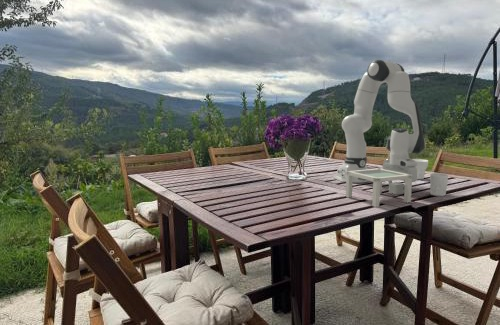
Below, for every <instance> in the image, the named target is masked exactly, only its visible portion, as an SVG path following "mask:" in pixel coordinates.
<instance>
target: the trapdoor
mask: <svg viewBox="0 0 500 325" xmlns="http://www.w3.org/2000/svg"><path fill="white" fill-rule="evenodd" d="M361 174H365V175H369V176H373V177H387V176H397V175H396V174H391V173H386V172H379V171H375V172H364V173H361ZM358 179H359V180H363V181H365V180H366V179H362V178H358Z"/></svg>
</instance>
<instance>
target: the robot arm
mask: <svg viewBox="0 0 500 325" xmlns="http://www.w3.org/2000/svg"><path fill="white" fill-rule="evenodd" d="M382 84H385V85H386V86H387V104H388V105H389V107H390V108H392V109H393V110H395V111H397V112H400V113H403V114H405V115H407V116H409V118H410V119H411V120H410V121H411V126H412V130H413V133H409V129H407V128H404V127H395V128H393V129H392V130H391V133H390V134H389V135H388V136H387V137H386V148H385V149H387V151H389V158H387V159H384V160H383V164H382V168H381V169H385V170H390V171H395V172H400V173H405V174H410V175H412V183H416V182H417V168H416V167H415V166H417V162H416V161H414V160H412V159H413V158H411V157H410V155H409V154H417V155H418V154H421V153H422V152H423V151H424V150H425V149H426V139H425V137H424V136H425V135H424V132H423V126H422V120H421V116H420V115H421V114H420V110H419V106H418V103H416V102H414V101H413V99H412V96H411V81H410V76H409V73H407V72H406V71H405V68H404V66H402V65H401V64H399V63H396V62H393V61H389V60H388V61H387V60H382V59H375V60H373V61H372V62H370V63H369V64H368V66H367V69H366V72H364V73H363V76H362V78H361V79H360V81H359V84H358V87H357V90H356V93H355V97H354V99H353V104H354V107H353V108H354V109H353V111H354V112H353V114H349V115H347V116H345V117H344V118H343V119H342V121H341V128H342V130H343V131H344V135H345V142H346V156H345V157H344V163H342V164H341V165H340V166H339V167H338V168H336V169H337V171H336V174H335V175H333V176H332V178H333V179H334V180H337V181H339V182H342V183H346V175H347V171H356V170H367V169H368V166H367V162H368V159H367V142H366V140H365V135H364V133H367V131H369V130H370V129H371V127H372V125H373V120H372V118H373V109H374V105H375V103H376V99H377V96H378V92H379V90H380V86H381V85H382ZM401 181H403V182H405V179H403V180H401ZM367 182H369V180H365V181H363V180H359V179H358V177H354V176H352V183H354V184H355V183H359V184H361V183H367ZM387 182H388V184H389V183H393V181H387ZM403 190H404V191H405V185H404V186H403Z"/></svg>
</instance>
